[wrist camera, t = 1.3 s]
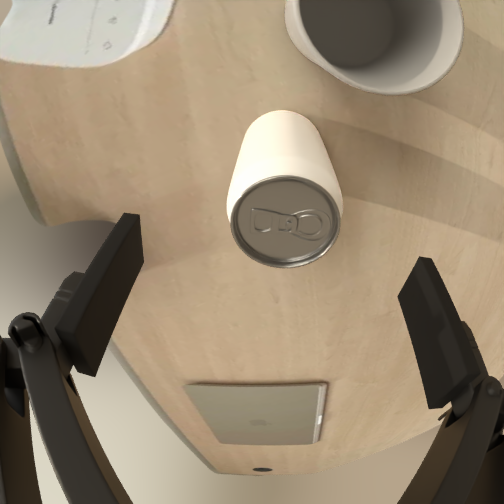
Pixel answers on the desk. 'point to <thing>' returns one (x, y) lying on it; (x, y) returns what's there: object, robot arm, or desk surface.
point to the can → (284, 193)
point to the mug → (379, 40)
